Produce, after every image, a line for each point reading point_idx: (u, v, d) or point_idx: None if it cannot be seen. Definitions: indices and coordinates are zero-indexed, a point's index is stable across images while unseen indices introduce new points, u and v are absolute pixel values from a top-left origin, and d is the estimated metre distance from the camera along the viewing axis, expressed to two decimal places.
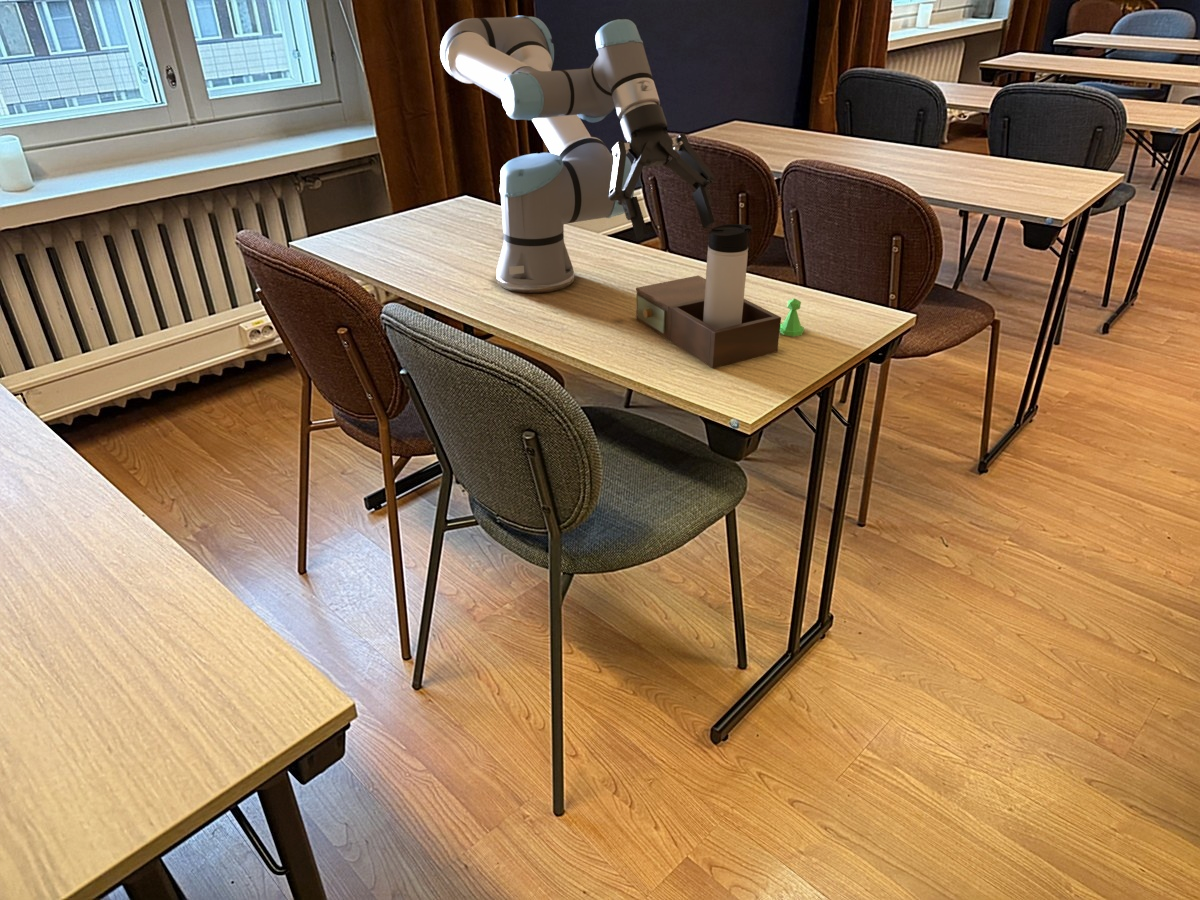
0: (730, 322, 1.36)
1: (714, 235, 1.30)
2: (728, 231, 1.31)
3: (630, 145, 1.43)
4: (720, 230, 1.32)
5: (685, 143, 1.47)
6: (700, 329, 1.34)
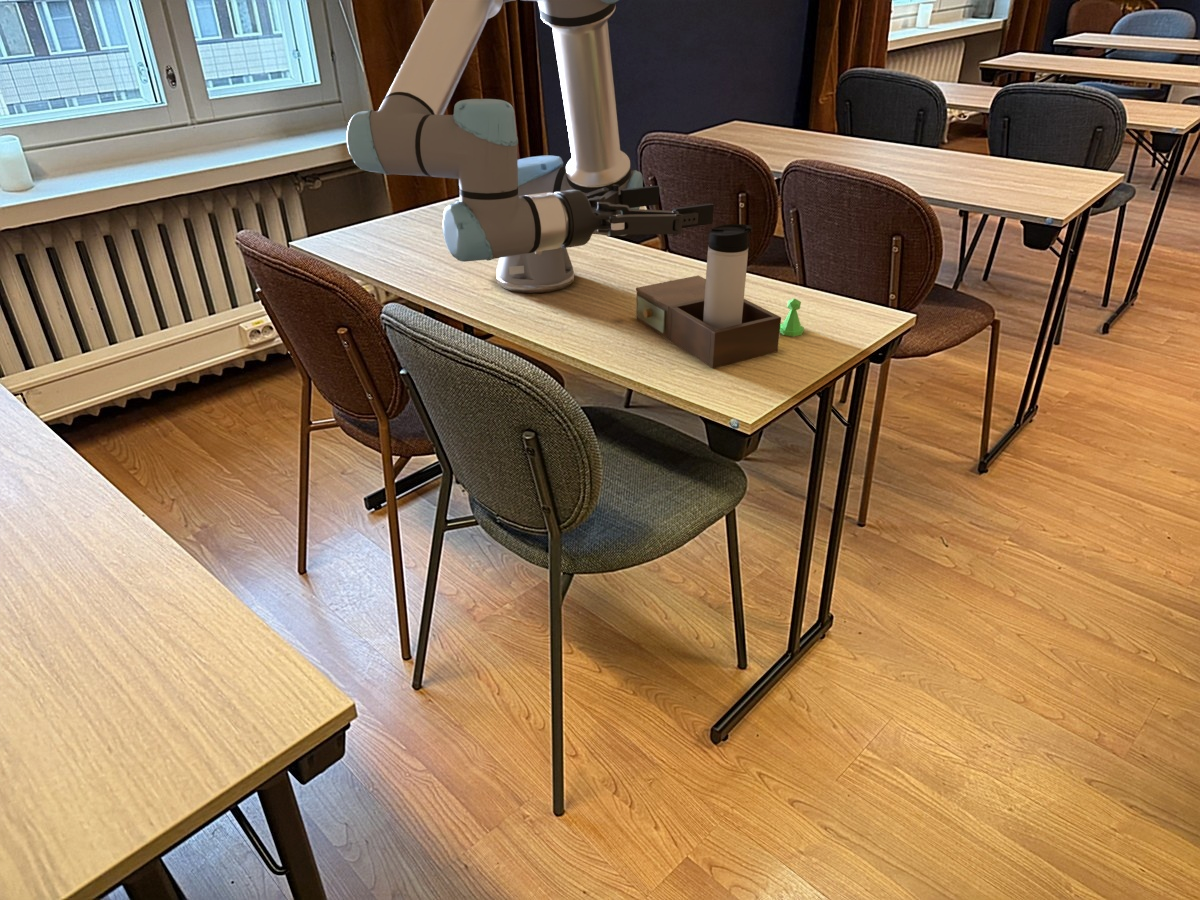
0: (730, 322, 1.36)
1: (714, 235, 1.30)
2: (728, 231, 1.31)
3: None
4: (720, 230, 1.32)
5: None
6: (700, 329, 1.34)
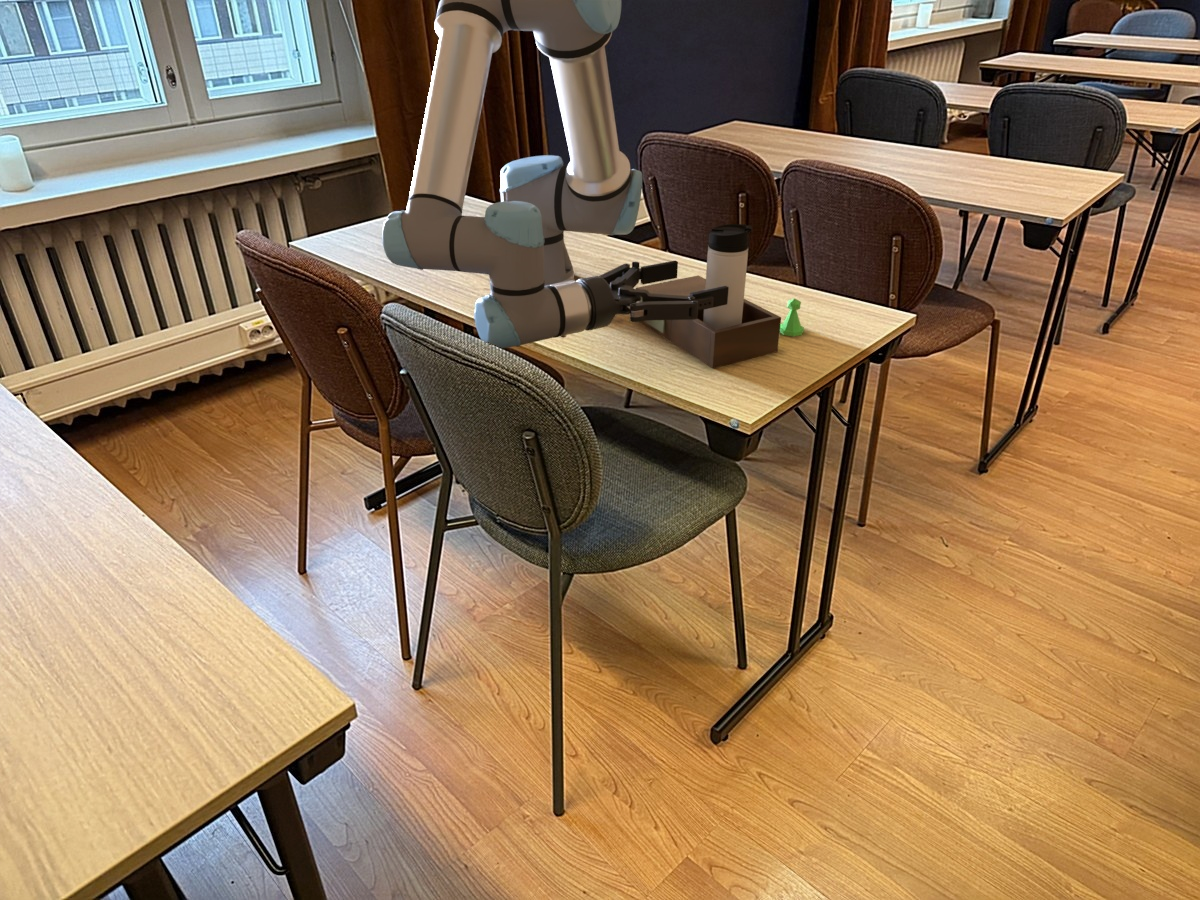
0: (730, 322, 1.36)
1: (714, 235, 1.30)
2: (728, 231, 1.31)
3: None
4: (720, 230, 1.32)
5: None
6: (700, 329, 1.34)
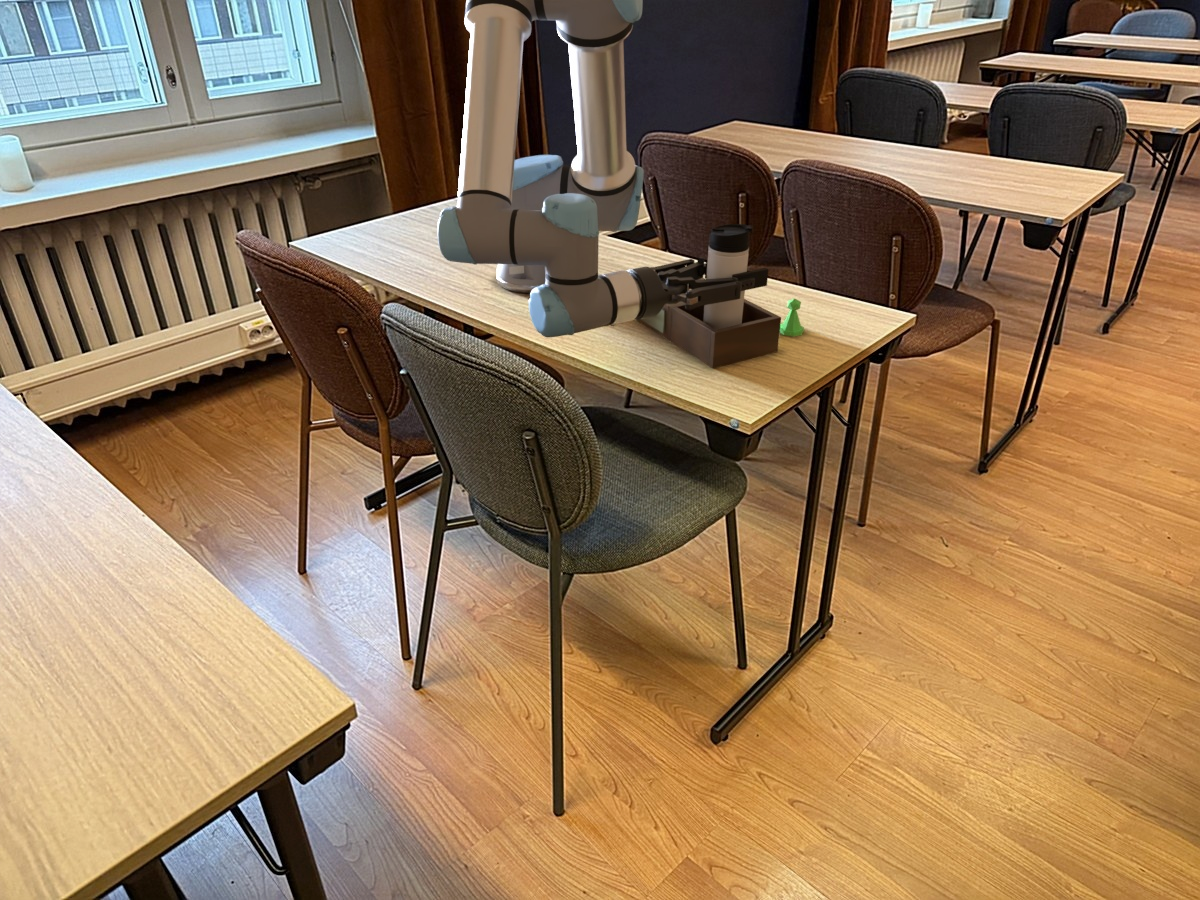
0: (730, 322, 1.36)
1: (715, 235, 1.30)
2: (729, 231, 1.31)
3: None
4: (721, 230, 1.32)
5: None
6: (700, 329, 1.34)
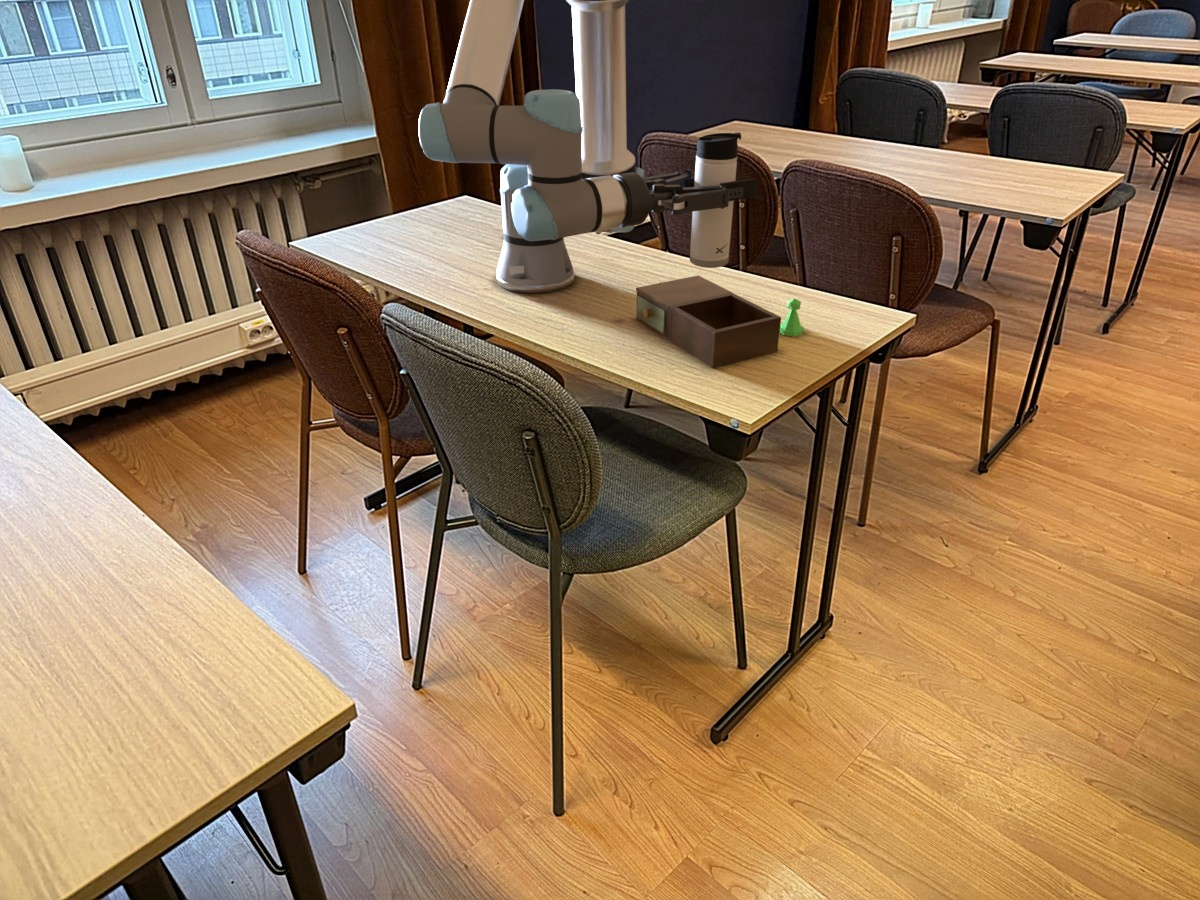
0: (719, 235, 1.33)
1: (702, 142, 1.27)
2: (716, 139, 1.28)
3: None
4: (708, 138, 1.29)
5: None
6: (700, 329, 1.34)
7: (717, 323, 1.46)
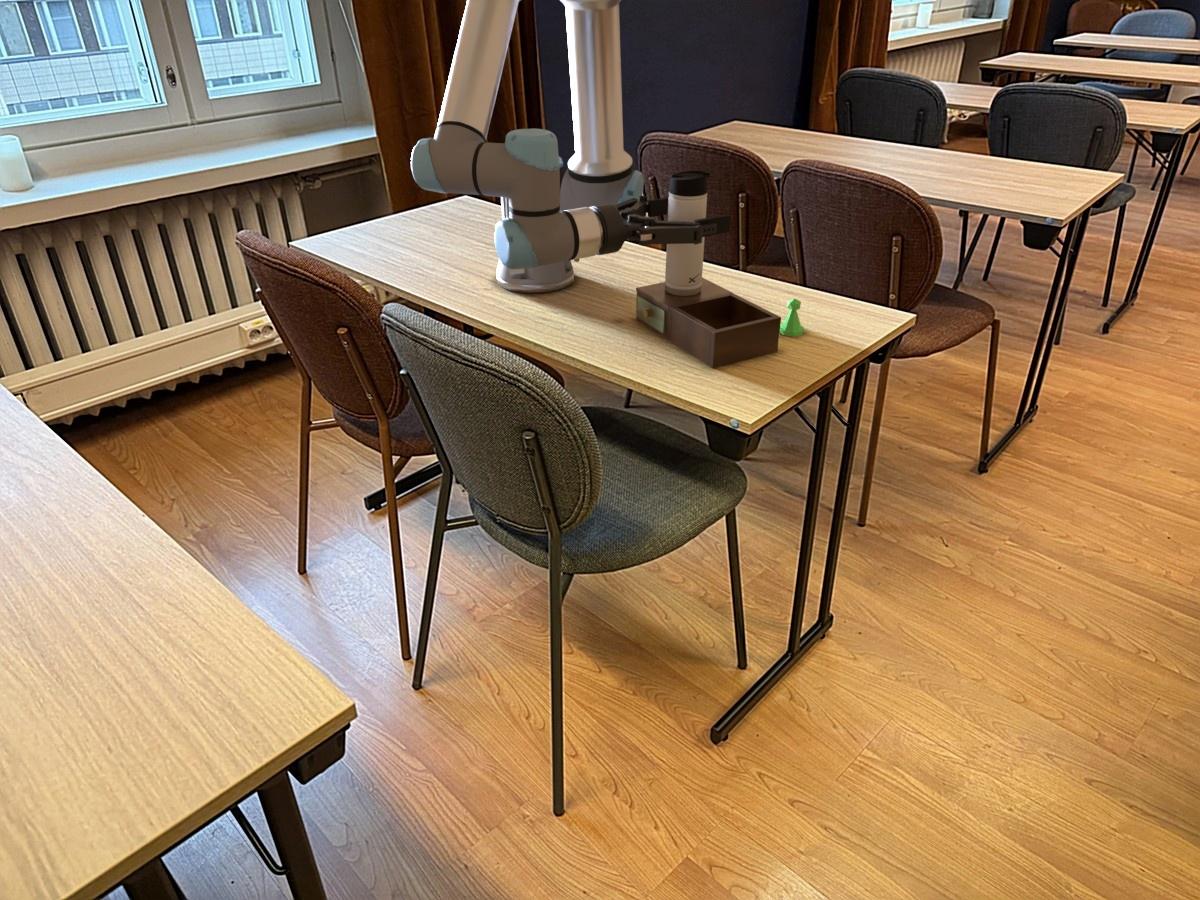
0: (691, 266, 1.41)
1: (674, 180, 1.35)
2: (687, 176, 1.37)
3: None
4: (680, 176, 1.38)
5: None
6: (700, 329, 1.34)
7: (717, 323, 1.46)
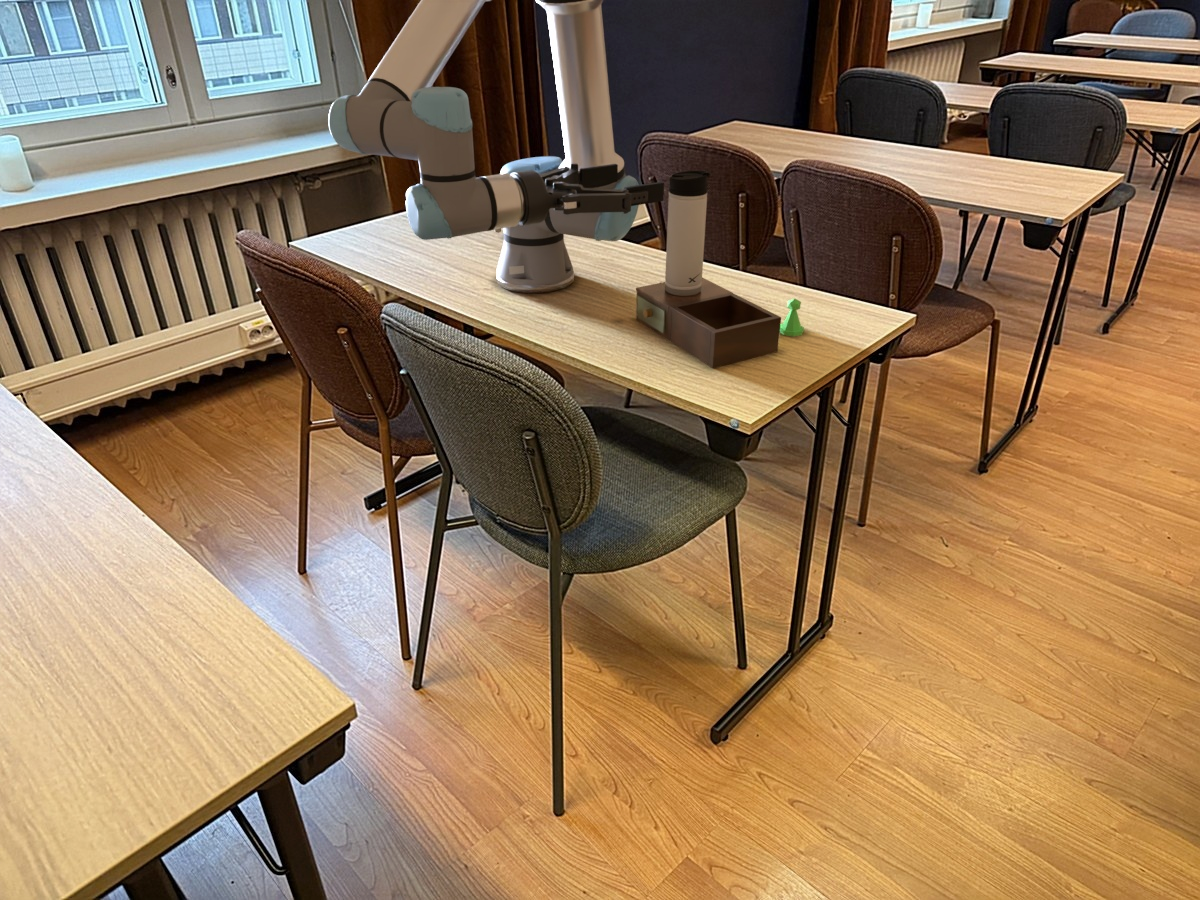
0: (691, 266, 1.41)
1: (674, 179, 1.35)
2: (687, 176, 1.37)
3: None
4: (680, 176, 1.38)
5: None
6: (700, 329, 1.34)
7: (717, 323, 1.46)
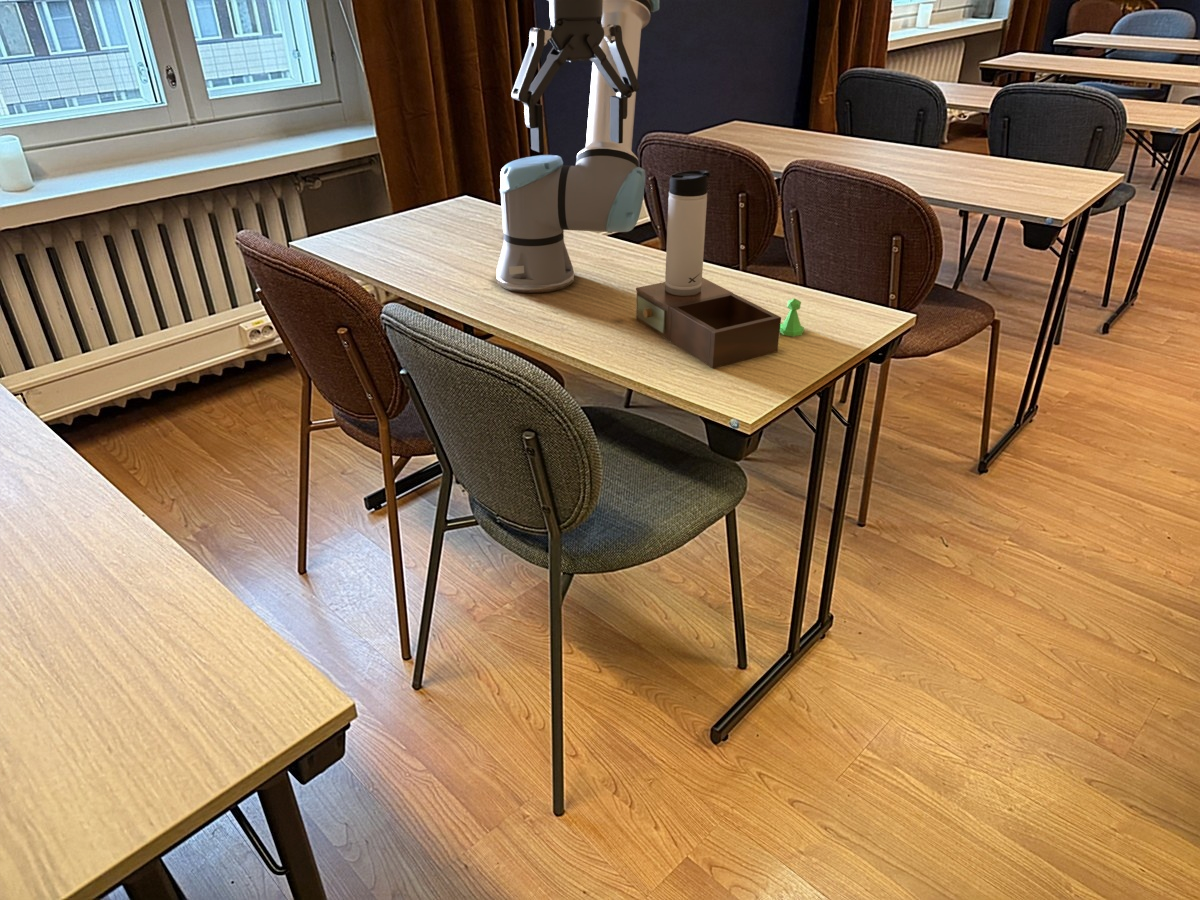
0: (691, 266, 1.41)
1: (674, 179, 1.35)
2: (687, 176, 1.37)
3: (552, 35, 1.20)
4: (680, 176, 1.38)
5: (618, 39, 1.24)
6: (700, 329, 1.34)
7: (717, 323, 1.46)
